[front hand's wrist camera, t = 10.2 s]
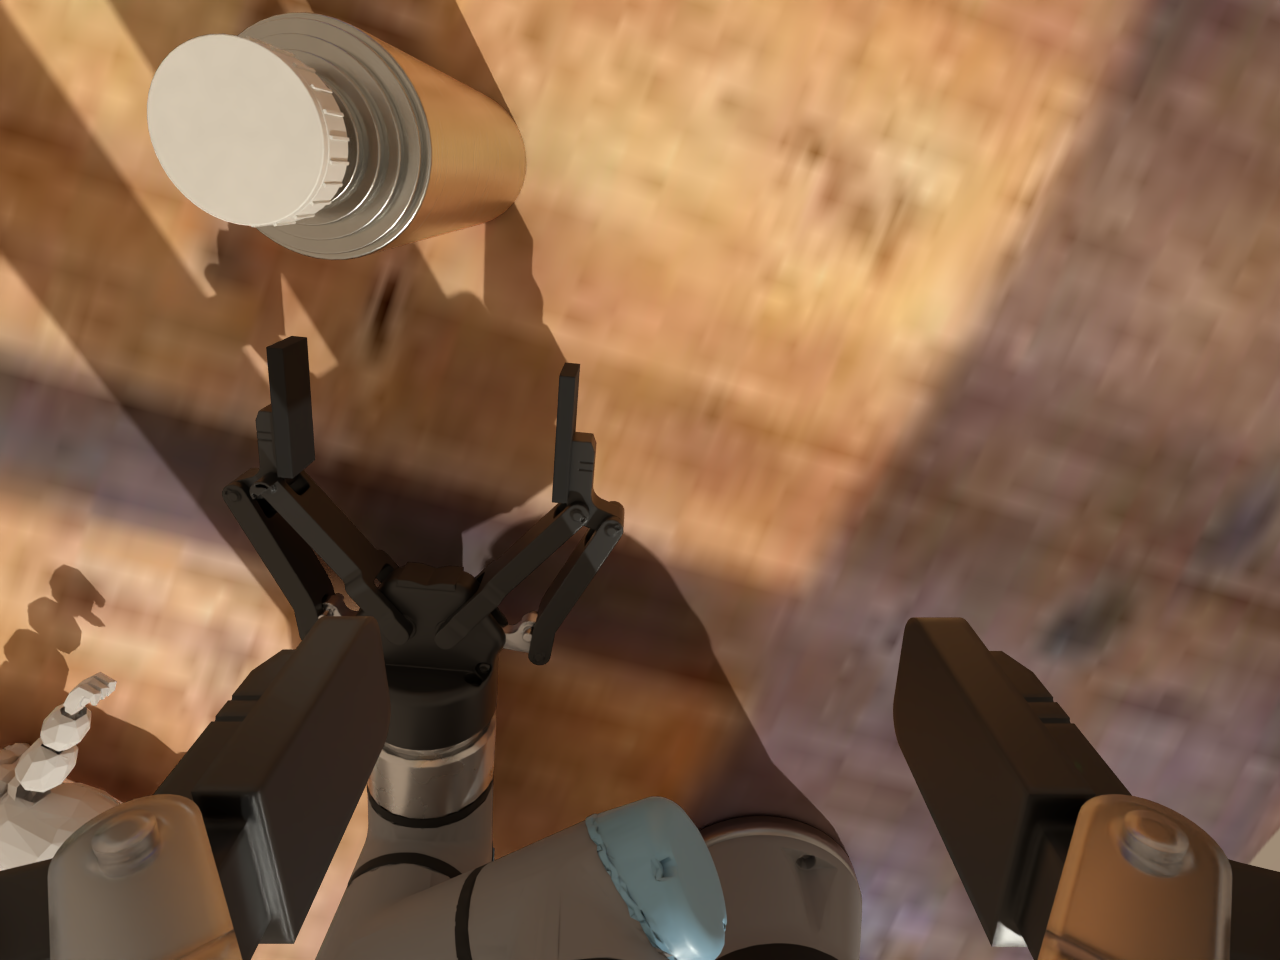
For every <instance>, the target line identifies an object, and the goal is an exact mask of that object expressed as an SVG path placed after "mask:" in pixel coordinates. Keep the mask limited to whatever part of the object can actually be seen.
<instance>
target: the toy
mask: <svg viewBox="0 0 1280 960" xmlns="http://www.w3.org/2000/svg"><path fill="white" fill-rule="evenodd" d="M116 682H117V681H115V680H113V679H112V678H110V677H108V676H106V675H105V674H103V673H101V672H99V673H97V674H95V675H93V676H91V677H89V678H87V679H85V680H83V681H82V682H81V683H79V684H78V685H77V686H76V687H75V688H74V689H73V690H72V691H71V692H70V693H69V695H68V697H67V698H66V700H65V702H64V703H63V704H61V705H59V706H57V707H56V708H55V709H54V710H53V711H52V712H51V713H50V714H49V715H48V716H47V717H46V718H45V719H44V721H43V725H42V729H41V734H40V736H41V738H38V739H37V740H36V741H35V742H34V743H33V744H32V745H31V746H30V745H29V744H28V743H15V744H13V745H12V746H11V745H8V746H6V747H5V748H3V749H0V871H2V870H6V869H10V868H14V867H19V866H23V865H27V864H31V863H35V862H39V861H44V860H48V859H51V858H53V857H54V855H55V853H56V852H57V850H58V849H59V848H60V846H61V845H62V844H63V843H64V842H65V840H66V839H68V838H69V837H70V836H71V835H72V834H73V833H74V832H75V831H76V830H77V829H79V828H80V827H81V826H82V825H84V824H85V823H86V822H88V821H90V820H91V819H93V818H94V817H96V816H97V815H99V814H101V813H103V812H105V811H106V810H108V809H110V808H113V807H115V806H117V805H119V804H120V803H119V802H118V801H117V800H116V799H114V798H113V797H112V796H111V795H110V794H108V793H107V792H106V791H104V790H101V789H98V788H95V787H92V786H89V785H86V784H83V783H80V782H79V783H62V782H63V781H64V780H65V778H66V777H67V776H68V774H69V773H70V772H71V771H72V769H73V768H74V766H75V764H76V759H77V753H78V747H77V746H76V744H77V743H79V742H81V740H82V739H83V737H84V736H85V735H86V733H87V732H88V730H89V729H90V724H91V711H90V710H89V709H88V708H87V707H85V705H86V704H88V703H90V702H91V704H92V705H95V706H96V705H97V704H98V702H99V700H100V699H103V700H104V698H105V697H106V696H109V695H110V694H111V693H112V692H113V691H115V687H116Z"/></svg>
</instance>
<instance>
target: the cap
mask: <svg viewBox="0 0 1280 960" xmlns="http://www.w3.org/2000/svg"><path fill="white" fill-rule="evenodd" d="M315 72H316V71H315V70H314V69H313V68H310V67H308V66H306V65H305V64H304V63H302V62H301V61H300V60H298V59H296V58H295V54H293V53H290V52H288V51H285V50H282V49H279V48H276V47H274V46H272V45H271V44H268V43H266V42H263V41H260V40H257V39H254V38H252V37H249V36H246V38H243V37H239V36H235V35H228V34H208V35H203V36H198V37H196V38H193V39H190V40H188V41H186V42H184V43H182V44H181V45H179V46H178V47H176V48H175V49H174V50H173V51H171V52H170V53H169V54H168V55H167V57H166V58H165V59H164V60H163V61H162V63H161V64H160V66H159V67H158V69H157V71H156V73H155V75H154V77H153V80H152V82H151V86H150V90H149V94H148V102H147V121H148V129H149V133H150V138H151V142H152V145H153V147H154V150H155V153H156V155H157V157H158V160H159V162H160V164H161V166H162V167H163V169H164V171H165V172H166V174H167V175H168V177H169V178H170V180H171V181H172V182H173V183H174V185H175V186H176V187H177V188H178V189H179V190H180V191H181V193H182V194H183V195H184V196H185V197H186V198H188V199H189V200H190V201H191V202H192V203H194V204H195V205H196V206H198V207H199V208H201V209H202V210H204V211H205V212H207V213H209V214H211V215H213V216H214V217H216V218H219V219H222V220H224V221H227V222H231V223H235V224H239V225H248V226H251V227H261V226H269V225H274V226H281V225H289V224H296V221H298V220H301V219H304V218H310V217H314V216H315V213H316V212H318V211H319V210H321V209H322V208H323V207H324V206H325V205H330V204H331V199H332V198H333V197H334V195H335V194H336V192H337V191H338V189H339V187H342V185H343V184H342V180H343V178H344V175H345V171H346V167H347V165H349V162H348V161H347V160H348V141H349V138H348V137H347V132H346V127H345V124H344V120H343V117H344V114H343V113H342V112H340V109H339V107H338V105H337V103H336V101H335V99H334V97H333V95H332V94H331V93H333V92H332V90H331V89H329V88H327V86H326V85H325V84H324V83H323V81H322V80H321V79H320V78H319V77H318V76H317V75H316V74H315Z"/></svg>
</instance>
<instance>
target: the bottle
mask: <svg viewBox="0 0 1280 960" xmlns="http://www.w3.org/2000/svg"><path fill="white" fill-rule="evenodd" d="M238 36H239V37H243V38H246V36H249V37H252V38H254V39H257V40H260V41H263V42H266V43H268V44H271V45H272V46H274V47H276V48H279V49H282V50H285V51H288V52H290V53H293V54H295V58H296V59H298V60H300V61H301V62H302V63H304V64H305V65H306V66H308V67H310V68H313V69H314V70H315V71H316V72H315V74H316V75H317V76H318V77H319V78H320V79H321V80H322V81H323V83H324V84H325V85H326V86H327V88H329V89H331V90H332V92H333V93H331V94H332V95H333V97H334V99H335V101H336V103H337V105H338V107H339V109H340V112H342V113H343V114H344V117H343V120H344V124H345V127H346V132H347V137H348V138H349V141H348V160H347V161H348V162H349V165H347V167H346V171H345V175H344V178H343V180H342V184H343V185H342V187H339V189H338V191H337V192H336V194H335V195H334V197H333V198H332V199H331V204H330V205H325V206H324V207H323V208H322V209H321V210H319V211H318V212H316V213H315V216H314V217H310V218H304V219H301V220H298V221H296V224H289V225H281V226H274V225H269V226H261V227H255V228H257V229H258V230H259V231H260V232H261V233H262V234H264V235H265V236H267V237H268V238H270V239H271V240H273V241H274V242H276V243H277V244H279V245H281V246H283V247H285V248H287V249H289V250H291V251H294V252H297V253H299V254H302V255H305V256H309V257H313V258H318V259H326V260H347V259H353V258H359V257H363V256H366V255H370V254H374V253H377V252H381V251H384V250H388V249H392V248H395V247H399V246H403V245H406V244H410V243H414V242H417V241H421V240H424V239H428V238H432V237H435V236H439V235H443V234H446V233H450V232H453V231H457V230H461V229H464V228H468V227H472V226H475V225H479V224H482V223H486V222H489V221H491V220H493V219H495V218H497V217H498V216H500V215H501V214H503V213H504V212H505V211H506V210H507V209H508V208H509V207H510V206H511V205H512V204H513V203H514V201H515V200H516V198H517V196H518V195H519V192H520V190H521V188H522V185H523V182H524V178H525V173H526V152H525V147H524V143H523V140H522V136H521V134H520V132H519V129H518V127H517V125H516V124H515V122H514V121H513V119H512V118H511V116H510V115H509V114H508V112H507V111H506V110H505V109H504V108H503V107H502V106H501V105H500V104H498V103H497V102H496V101H494V100H493V99H491V98H490V97H488V96H486V95H484V94H483V93H481V92H479V91H477V90H475V89H473V88H471V87H469V86H467V85H466V84H464V83H462V82H460V81H458V80H456V79H454V78H452V77H450V76H448V75H447V74H445V73H443V72H441V71H439V70H437V69H435V68H433V67H431V66H429V65H428V64H426V63H424V62H422V61H420V60H418V59H416V58H414V57H412V56H410V55H409V54H407V53H405V52H403V51H401V50H399V49H397V48H395V47H393V46H391V45H390V44H388V43H386V42H384V41H382V40H380V39H378V38H376V37H374V36H373V35H371V34H369V33H367V32H365V31H363V30H361V29H359V28H357V27H355V26H354V25H351V24H349V23H347V22H344V21H342V20H340V19H337V18H334V17H330V16H327V15H323V14H317V13H309V12H291V13H285V14H279V15H274V16H272V17H269V18H266V19H263V20H260V21H259V22H257V23H255V24H253V25H252V26H250V27H248V28H247V29H245V30H244V31H243V32H242V33H240V34H239V35H238Z"/></svg>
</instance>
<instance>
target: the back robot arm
mask: <svg viewBox="0 0 1280 960" xmlns="http://www.w3.org/2000/svg"><path fill="white" fill-rule="evenodd" d="M266 349H267V361H268V372H269V384H270V395H271V404H270V405H268V406H266V407H265V408H263V409H261V410H260V411H259V412H258V415H257V418H256V429H257V438H258V450H259V460H260V469H259V468H251V469H249V470H248V471H247V472H245V473H244V474H242V475H241V476H240V477H238V478H237V479H235V480H234V481H233V482H231V483H230V484H229V485H227V486H226V487H225V488H224V489H223V491H222V496H223V499H224V501H225V502H226V504H227V505H228V507H229V509H230V510H231V512H232V513H233V515H234V516H235V518H236V520H237V521H238V523H239V524H240V526H241V527H242V529H243V531H244V532H245V534H246V535H247V537H248V538H249V540H250V541H251V543H252V545H253V546H254V548H255V549H256V551H257V552H258V554H259V556H260V557H261V559H262V560H263V562H264V563H265V565H266V567H267V568H268V570H269V571H270V573H271V574H272V576H273V578H274V579H275V581H276V582H277V584H278V585H279V587H280V589H281V590H282V592H283V593H284V595H285V596H286V598H287V600H288V601H289V603H290V604H291V606H292V607H293V609H294V612H295V616H296V621H297V626H298V630H299V635H300V638H301V640H303V639H304V638H305V636H306V635H307V633H308V632H309V631H310V629H311V628H312V627H313V625H314V624H315V623H316V621H317V620H318V619H319V618H321V617H323V616H373V617H374V618H375V619H376V620H377V622H378V625H379V629H380V635H381V641H382V648H383V655H384V662H385V668H386V675H387V682H388V689H389V696H390V705H391V714H390V724H389V730H388V735H387V738H386V742H385V744H384V747H383V749H382V751H381V753H380V755H379V758H378V760H377V762H376V764H375V766H374V769H373V771H372V773H371V775H370V777H369V780H368V782H367V793H368V833H367V838H366V841H365V844H364V847H363V849H362V851H361V854H360V856H359V859H358V861H357V863H356V866H355V868H354V870H353V873H352V875H351V877H350V880H349V882H348V886H347V888H346V891H345V893H344V895H343V897H342V900H341V902H340V904H339V907H338V909H337V911H336V913H335V916H334V918H333V920H332V922H331V925H330V927H329V929H328V932H327V934H326V936H325V938H324V941H323V943H322V945H321V948H320V950H319V952H318V954H317V957H316V959H315V960H859V955H860V937H861V919H862V898H861V892H860V888H859V885H858V881H857V878H856V875H855V871H854V868H853V866H852V863H851V861H850V859H849V857H848V856H847V854H846V853H845V851H844V850H843V849H842V848H841V847H840V846H839V845H838V843H837V842H835V841H834V840H833V839H832V838H831V837H829V836H828V835H826V834H825V833H823V832H822V831H820V830H818V829H816V828H814V827H812V826H810V825H807V824H805V823H802V822H799V821H795V820H791V819H787V818H781V817H772V816H750V817H741V818H735V819H731V820H726V821H723V822H720V823H716V824H714V825H711V826H709V827H706V828H704V829H702V830H700V831H699V830H698V829H697V827H696V826H695V824H694V823H693V821H692V820H691V819H690V818H689V816H688V815H687V814H686V813H685V811H684V810H683V809H682V808H681V807H680V806H679V805H678V804H676V803H675V802H673V801H672V800H669V799H667V798H664V797H659V796H652V797H648V798H645V799H642V800H639V801H636V802H632V803H629V804H626V805H623V806H620V807H617V808H614V809H611V810H608V811H605V812H602V813H599V814H592V815H590V816H589V817H587V818H586V820H584V821H582V822H580V823H578V824H575V825H573V826H571V827H569V828H566V829H564V830H562V831H560V832H557V833H555V834H553V835H551V836H549V837H546V838H544V839H542V840H540V841H537V842H535V843H533V844H531V845H528V846H526V847H524V848H522V849H519V850H517V851H515V852H513V853H510V854H508V855H506V856H504V857H501V858H499V859H497V860H495V861H494V848H493V842H492V822H493V778H494V756H495V735H496V714H495V710H496V706H497V686H498V655H499V653H500V651H501V650H502V649H503V648H505V649H510V650H516V651H521V652H527V653H529V654H528V656H529V660H530V661H531V662H532V663H533V664H536V665H544V664H546V663H547V662H548V661H549V659H550V656H551V651H552V646H553V641H554V636H555V632H556V631H557V629H558V628H559V626H560V625H561V624H562V622H563V621H564V619H565V618H566V616H567V615H568V613H569V612H570V610H571V609H572V608H573V606H574V605H575V603H576V602H577V600H578V599H579V597H580V596H581V594H582V593H583V592H584V590H585V589H586V587H587V586H588V584H589V583H590V581H591V580H592V578H593V577H594V575H595V574H596V573H597V571H598V570H599V568H600V567H601V565H602V564H603V562H604V561H605V559H606V558H607V557H608V555H609V554H610V552H611V551H612V549H613V548H614V546H615V545H616V543H617V542H618V541H619V539H620V538H621V536H622V534H623V527H624V508H623V506H622V505H621V504H620V503H619V502H616V501H610V502H608V501H606V500H603V499H601V498H600V497H598V496H597V495H596V494H595V492H594V489H593V479H594V466H595V453H596V441H595V438H594V435H593V434H592V433H581V432H575V430H576V415H577V401H578V386H579V372H580V364H574V363H565V364H564V366H563V369H562V371H561V373H560V376H559V392H558V409H557V426H556V443H555V460H554V477H553V494H552V502H555V503H558V504H557V505H556V506H555V507H554V508H553V509H552V510H550V511H549V512H548V513H547V514H546V515H545V516H544V517H543V518H542V519H541V520H540V521H539V522H537V523H536V524H535V525H534V526H533V527H532V528H531V529H530V530H529V531H528V532H527V533H526V534H524V535H523V536H522V537H521V538H520V539H519V540H518V541H517V542H516V543H515V544H514V545H513V546H512V547H510V548H509V549H508V550H507V551H506V552H505V553H504V554H503V555H502V556H501V557H500V558H499V559H497V560H494V561H493V562H491V563H490V564H489V565H488V566H487V567H486V568H485V569H484V570H483V571H482V572H481V573H479V574H478V575H477V576H476V577H473V576H472V575H471V574H469V573H467V572H465V571H464V567H458V566H445V567H438V568H435V567H431V566H428V565H425V564H422V563H413V562H407V564H406V565H405V566H402V567H398V565H397V564H396V563H395V562H394V561H393V560H392V559H391V558H390V557H389V556H388V555H387V553H385V552H384V551H382V550H377V549H375V548H374V547H373V545H372V544H371V543H370V542H369V541H368V540H367V539H366V538H365V537H364V536H363V535H362V533H361V532H360V531H359V530H358V529H357V528H356V527H355V526H354V525H353V524H352V522H351V521H350V520H349V519H348V518H347V517H346V516H345V515H344V514H343V513H342V512H341V510H340V509H339V508H338V507H337V506H336V505H335V504H334V503H333V502H332V501H331V500H330V498H329V497H328V496H327V495H326V494H325V493H324V492H323V491H322V490H321V489H320V488H319V486H318V485H317V484H316V483H315V482H314V481H313V480H312V479H311V478H310V477H309V476H308V474H307V473H306V472H305V471H304V469H305V468H306V467H307V466H308V465H309V464H311V463H312V462H313V461H314V460H315V451H314V436H313V421H312V406H311V391H310V376H309V361H308V346H307V337H297V336H291V337H288V338H286V339H284V340H282V341H279V342H277V343H275V344H273V345H270V346H268V347H266ZM582 526H586V527H588V528H589V529H588V530H587V532H586V533H585V535H584V536H583V538H582V539H581V541H580V542H579V544H578V545H577V547H576V548H575V550H574V551H573V553H572V554H571V556H570V557H569V559H568V560H567V562H566V563H565V565H564V566H563V568H562V569H561V571H560V572H559V574H558V575H557V577H556V578H555V580H554V581H553V583H552V584H551V586H550V587H549V589H548V590H547V592H546V593H545V595H544V597H543V599H542V601H541V603H540V606H539V609H538V612H536V611H530V612H529V613H527V614H525V615H524V616H523V617H522V619H521V621H520V622H519V623H517V624H515V625H508V622H507V619H506V618H505V616H504V615H503V614H502V612H501V611H500V610H499V608H498V607H497V606H498V605H499V604H500V603H501V601H502V600H503V598H504V597H505V596H506V595H507V594H508V593H509V592H510V591H511V590H513V589H514V588H515V587H516V586H517V585H518V584H519V583H520V582H521V581H523V580H524V579H525V578H526V577H527V576H528V575H529V574H530V573H531V572H532V571H534V570H535V569H536V568H537V567H538V566H539V565H540V564H541V563H542V562H544V561H545V560H546V559H547V558H548V557H549V556H550V555H551V554H552V553H554V552H555V551H556V550H557V549H558V548H559V547H560V546H561V545H562V544H564V543H565V542H566V541H567V540H568V539H569V538H570V537H571V536H572V535H573V534H575V533H576V532H577V531H578V530H579V529H580V528H581V527H582ZM310 546H311V547H310ZM312 549H313V550H314V551H315V552H316V553H317V554H318V555H319V556H320V557H321V558H322V559H323V560H324V561H325V562H326V563H327V564H328V565H329V566H330V568H331V569H332V570H333V571H334V572H335V573H336V574H337V575H338V576H339V577H340V578H341V579H342V580H343V582H344V584H345V590H346V592H347V594H348V595H349V596H350V597H351V598H352V599H353V600H354V601H355V602H356V603H357V604H358V605H359V606H360V609H359V611H353V610H350V609H349V608H348V607H347V606H346V605H345V603H344V601H343V600H344V596H343V595H342V594H340V593H336V594H335V593H334V589H333V586H332V583H331V581H330V579H329V577H328V575H327V573H326V571H325V570H324V568H323V566H322V565H321V563H320V562H319V560H318V558H317V557H316V555H315V553H314V552H313V550H312ZM375 578H377V579H378V580H379V581H380V582H381V584H380V585H379V587H378V588H377V587H376V586H375V584H374V580H375Z"/></svg>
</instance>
